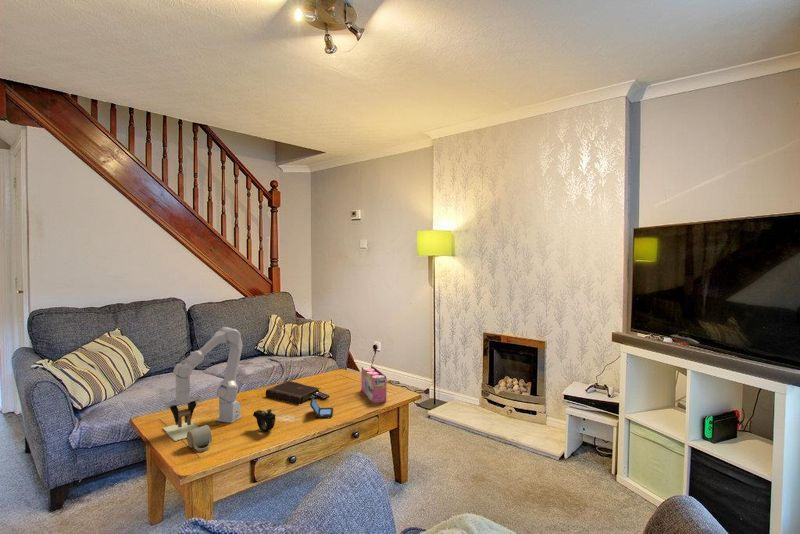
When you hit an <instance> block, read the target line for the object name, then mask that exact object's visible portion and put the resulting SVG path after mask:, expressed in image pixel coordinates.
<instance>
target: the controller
mask: <svg viewBox="0 0 800 534" xmlns="http://www.w3.org/2000/svg"><path fill="white" fill-rule="evenodd" d="M272 411H273V410H272V409H267V410H266V411H265V410H260V409H258V410H255V411H253V414H252V415H253V417H254V418H255V419H256V422H257V423H256V424H257V426H258V428H259V429H260V430H261V431H262V432H265V433H266V432H269V431H272V429H274V426H275V424H276V423H275V422H276V416H277V415H276V414H275V413H273V412H272Z"/></svg>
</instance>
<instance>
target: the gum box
mask: <svg viewBox="0 0 800 534" xmlns="http://www.w3.org/2000/svg"><path fill="white" fill-rule="evenodd" d="M360 385H361V389H360V390H361V391H362V393H363V392H364V393H365V394H366V395H367V396H368V397H367V396H366V395H365V394H364V393H363V394H364V395H365V396H366V397H367V398H368V399H369V400H370V401H371V402H372V403H373V402H377V403H384V402H387V376H386V375H385V374H384V373H382V372H381V371H380V370H378V369H377V368H376V367H375V366H370V367H365V368H364V366H363V367H361V384H360ZM383 401H384V402H383Z"/></svg>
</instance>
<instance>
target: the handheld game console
mask: <svg viewBox="0 0 800 534" xmlns="http://www.w3.org/2000/svg"><path fill="white" fill-rule="evenodd" d="M315 399H316V398H313V397H312V398H311V399H310V403H309V406H310V407H311V409H312V411H313V413H314V414H315V415H316V419H317V418H321V419H331V418H330V417H332V418H333V415H334V414H333V413H334V408H333V407H320V405H319V404H318V403H317V401H316V400H315ZM328 417H329V418H328Z"/></svg>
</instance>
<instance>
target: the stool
mask: <svg viewBox="0 0 800 534" xmlns="http://www.w3.org/2000/svg"><path fill="white" fill-rule="evenodd" d="M182 417H183V418H184V422H185V423H187V425H191V421H192V418H191V411H190V410H188V408H184V409H178V423H176V422H175V425H178V427H182V423H183V422H182V419H183V418H182Z"/></svg>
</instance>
